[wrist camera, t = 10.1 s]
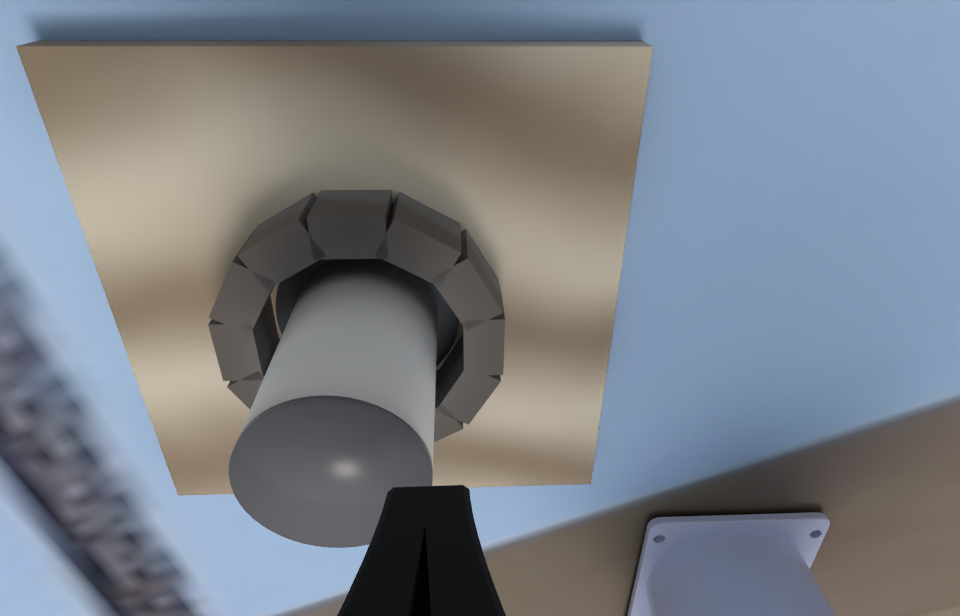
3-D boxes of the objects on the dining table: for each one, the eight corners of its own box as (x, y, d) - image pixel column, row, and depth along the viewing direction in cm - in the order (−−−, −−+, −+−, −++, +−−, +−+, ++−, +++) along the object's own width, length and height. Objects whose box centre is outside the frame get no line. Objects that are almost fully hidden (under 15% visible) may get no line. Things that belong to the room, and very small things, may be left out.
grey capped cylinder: (439, 369, 21) (434, 545, 15) (307, 370, 20) (248, 549, 14) (436, 252, 18) (430, 403, 12) (288, 252, 18) (208, 406, 12)
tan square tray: (585, 465, 25) (601, 525, 22) (187, 475, 24) (156, 539, 22) (642, 41, 17) (678, 59, 14) (39, 40, 16) (-40, 59, 13)
